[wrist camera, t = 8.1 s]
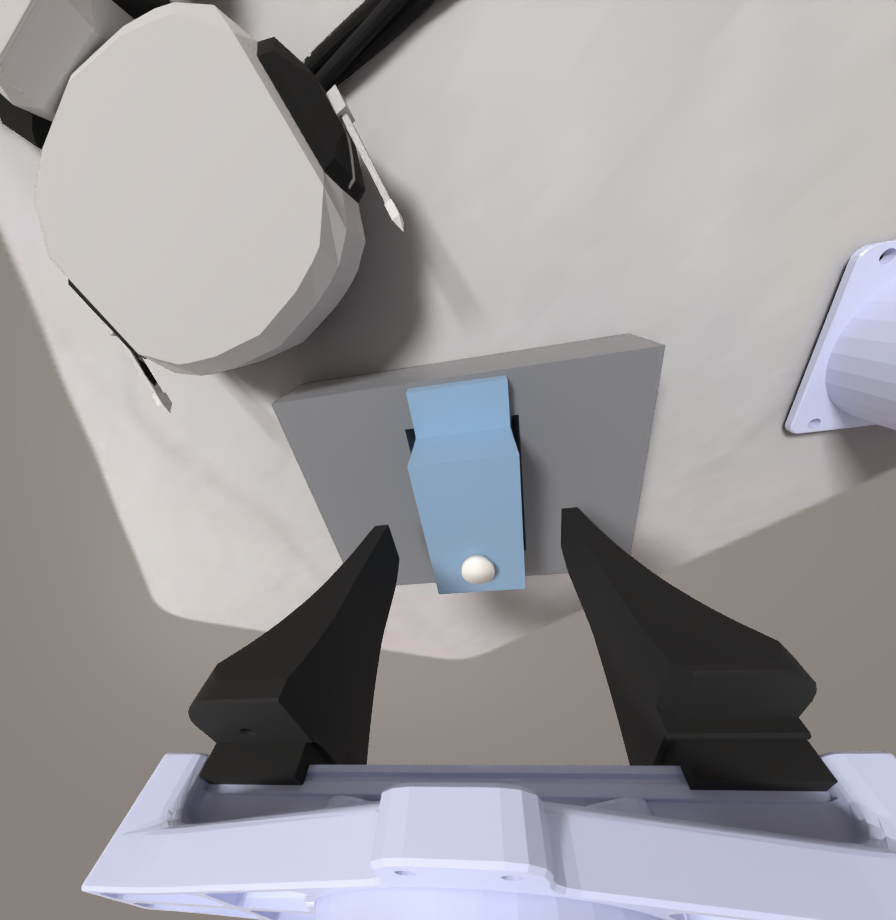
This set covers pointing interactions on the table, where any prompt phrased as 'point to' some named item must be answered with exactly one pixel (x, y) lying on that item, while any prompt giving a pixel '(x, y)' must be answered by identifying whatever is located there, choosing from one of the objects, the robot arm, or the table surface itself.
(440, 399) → the block
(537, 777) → the robot arm
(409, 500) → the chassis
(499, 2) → the table surface
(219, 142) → the robot toy
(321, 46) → the electrical cable
